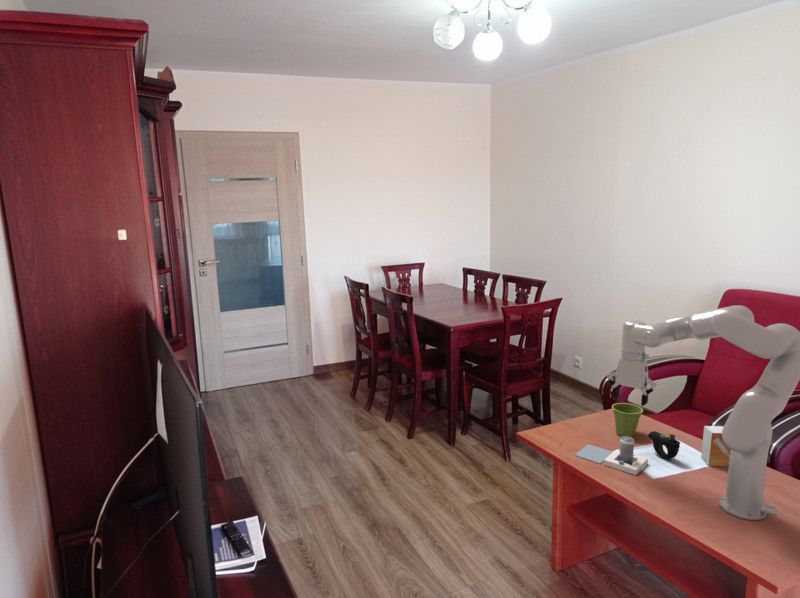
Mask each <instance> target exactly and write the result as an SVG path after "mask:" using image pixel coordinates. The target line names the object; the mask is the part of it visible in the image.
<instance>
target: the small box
mask: <svg viewBox="0 0 800 598" xmlns="http://www.w3.org/2000/svg"><path fill="white" fill-rule="evenodd" d="M723 427H724V425H723V426H719V425H718V426H717V425H704V426H703V434H702V436H703V438H702V444H701V445H702V446H701V456H700V458H701V460H702V459H703V460H704V461H703V460H702V461H703V462H704V463H705V464H706V465H707V466H708V467H728V468H729V459H730V451H731V449H730V448H728V447H727V445H726V444H725V443H724V441H723V438H722V430H723Z"/></svg>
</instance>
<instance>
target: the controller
mask: <svg viewBox="0 0 800 598" xmlns="http://www.w3.org/2000/svg"><path fill="white" fill-rule="evenodd" d="M647 437H648V438H649V439H650V440H651V441H652V445H653V450H654V451H655V453H656V455H658V456H659V457H660V458H661V459H664V460H671V459H674V458H676V457H677V456H678V453H679V451H680V447H681V442H680V441H679V440H677V439H676V435H675V434H671V433H670V434H669V436H668V435H665V434H663V433H660V432H658V431H657V430H656V431H655V430H653V431H650V432H649V433H648V434H647ZM664 447H665V449H666V450H667V453H666V452H665V450H664Z"/></svg>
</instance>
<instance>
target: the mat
mask: <svg viewBox="0 0 800 598" xmlns="http://www.w3.org/2000/svg"><path fill="white" fill-rule="evenodd" d="M613 452H614V451H611V450H608V449H605V448H602V447H599V446H595V445H591V444H588V443H587V444H586V446H584V447H583V448H581V449H580V450H579V451H577V452H576V453H575V454H574V456H575V457H578V458H581V459H584V460H587V461H589V462H590V461H591V462H593V463H595V464H600V465H602V463H604V459H606V458H607V457H608V456H609V455H610V454H611V453H613Z"/></svg>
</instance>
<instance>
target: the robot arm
mask: <svg viewBox="0 0 800 598" xmlns="http://www.w3.org/2000/svg"><path fill="white" fill-rule="evenodd" d="M720 337H721V338H722V339H724V340H725V341H727V342H729V343H731V344H733V345H735V346H737V347H739V348H741V349H742V350H744V351H746V352H748V353H750V354H752V355H754V356H757V357H758V358H762V359H765V360H766V359H767V360H770V361H769V362H768V363H767V365H766V367H765V368H764V371H763V372H762V374H761V376H760V378H759V379H758V381H757V382H756V384H755V385H754V386H752V387H751V388H750V389H748V390H747V391H745V392H744V393H743V394H742V395H741V396H740V397H739V398H738V400H737V401H736V403H735V405H733V408H732V410H731V412H730V413H729V415H728V418H727V420H726V421H725V424H724V425H723V426H724V427H723V430H722V438H723V441H724V443H725V444H726V445H727V447H728V448H730V449H731V451H730V459H729V467H728V471H727V481H726V489H725V490H726V491H725V495H723V496H721V497H720V498H719V502H718V504H719V506H720V508H721V509H723V511H725V512H726V513H728V514H730V515H731V516H734V517H736V518H740V519H745V520H749V521H759V520H763V519H765V518H767V516H768V515H770V516H774V517H777V518H778V517H779V515H780V514H779V513H780V510H779V509H776V508H777V507H776V505H772V504H769V503H767V502H765V500H766V497H763V496H764V489H765V488H764V486H765V479H766V470H767V465H768V456H769V450H770V446H771V442H772V438H773V426H772V421H773V420H774V419H775V418H776V417H777V416H779V415H780V414H781V413H782V412H783V411H784V409H785V408H786V405H787V404H788V401H789V400H790V398H791V396H792V395H793V393H794V391H795V389H796V388H797V386H798V383H799V381H800V331H799V330H798V329H797V328H796V327H794V326H793V325H791V324H788V323H783V322H782V323H779V322H778V323H774V324H770V325H768V326H766V327H765V326H763V325H761V324H759V323H758V322H757V323H756V322H755V316H754V313H753V312H752V310H751V309H750V308H748V306H745V305H738V304H737V305H730V306H725V307H721V308H720V307H719V308H716V309H711V310H707V311H701V312H696V313H693V314H689V315H686V316H682V317H677V318H672V319H668V320H663V321H659V322H656V323H653V324H648V325H647V324H646V322H644V321H641V320H639V319H638V320H635V319H634V320H633V319H629V320H626V321H624V322H623V324H622V340H621V352H620V353H621V356H619V358H618V361H617V366H616V370H615V371H613V372H610V373H608V374H606V377H607V380H608V383H609V384H610V385H611V388H612V389H613V390H612V396H613V399H614V400H617V399H619V398H620V390H621V389H620V386H624V387H629V388H633V389H637V390H640V392H641V393H642V395H641V403H640V405H641V406H643V407H645V405H647V404H648V402H649V394H651V393H652V392H653V391H655V389H656V388H657V387H658V383H657V382H655V381H654V380H652V379H651V378H649V368H648V360H646V359H649V357H650V355H649V354H646V347H647V348H659V347H661V346H664V345H665V344H666V345H667V344H669V343H672V342H678V341H682V340H688V339H697V340H698V341H699V340H700V341H703V340H710V339H714V338H720ZM613 377H615V379H614V378H613ZM648 385H650V388H648V387H647V386H648ZM767 514H768V515H767Z"/></svg>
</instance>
